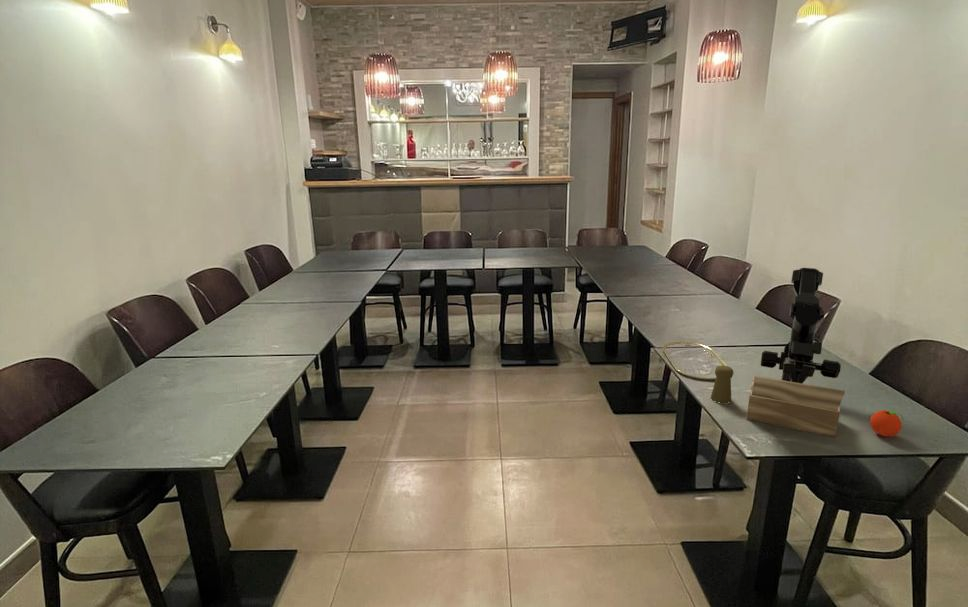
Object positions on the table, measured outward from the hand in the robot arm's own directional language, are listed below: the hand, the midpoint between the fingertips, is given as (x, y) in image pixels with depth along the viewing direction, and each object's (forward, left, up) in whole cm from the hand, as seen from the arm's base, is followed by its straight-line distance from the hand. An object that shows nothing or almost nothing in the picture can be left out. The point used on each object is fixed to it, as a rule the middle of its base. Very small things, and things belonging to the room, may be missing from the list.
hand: (795, 393), depth 145 cm
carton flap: (0, 0, 0) cm, 0 cm away
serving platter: (-42, -31, -13) cm, 54 cm away
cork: (-13, -19, -12) cm, 26 cm away
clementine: (-11, +23, -12) cm, 28 cm away
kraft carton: (-9, 0, -12) cm, 15 cm away
